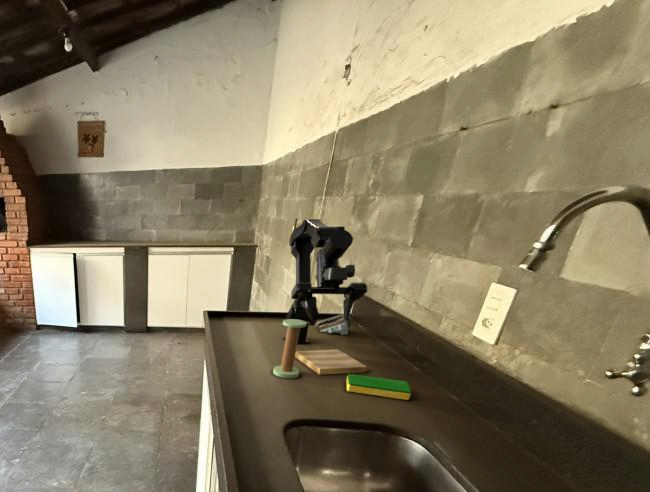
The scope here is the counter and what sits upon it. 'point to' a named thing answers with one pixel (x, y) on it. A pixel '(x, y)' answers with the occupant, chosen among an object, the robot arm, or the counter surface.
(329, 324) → the grey streaked wedge
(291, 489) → the counter surface
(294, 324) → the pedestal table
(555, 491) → the counter surface
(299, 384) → the counter surface
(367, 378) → the dish sponge
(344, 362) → the birch platform
